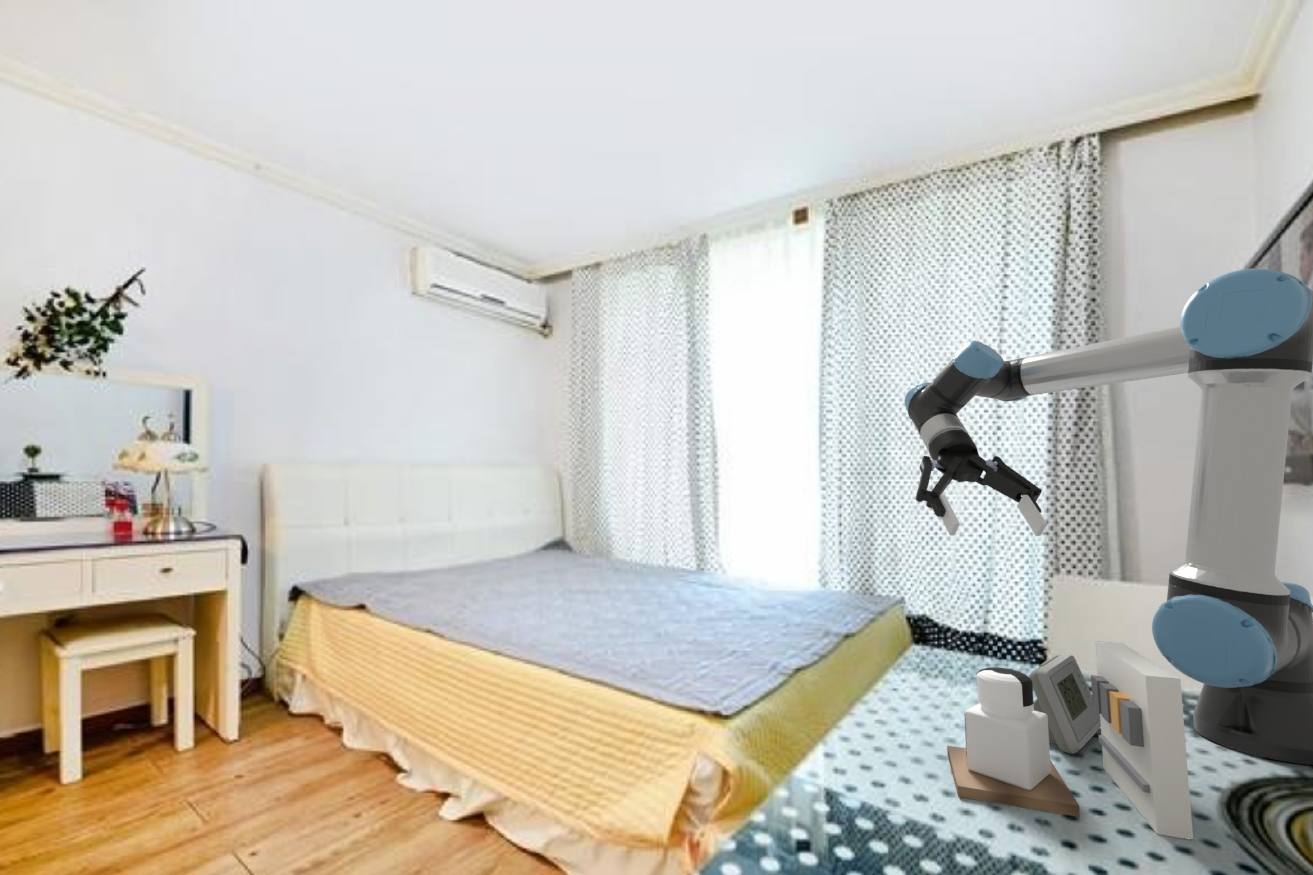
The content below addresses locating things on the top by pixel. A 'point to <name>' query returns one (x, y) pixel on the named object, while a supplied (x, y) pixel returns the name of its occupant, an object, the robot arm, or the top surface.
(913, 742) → the top surface
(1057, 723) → the digital clock
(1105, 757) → the breaker panel
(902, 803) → the top surface
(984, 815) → the top surface
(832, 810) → the top surface
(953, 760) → the walnut board
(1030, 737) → the medicine bottle
